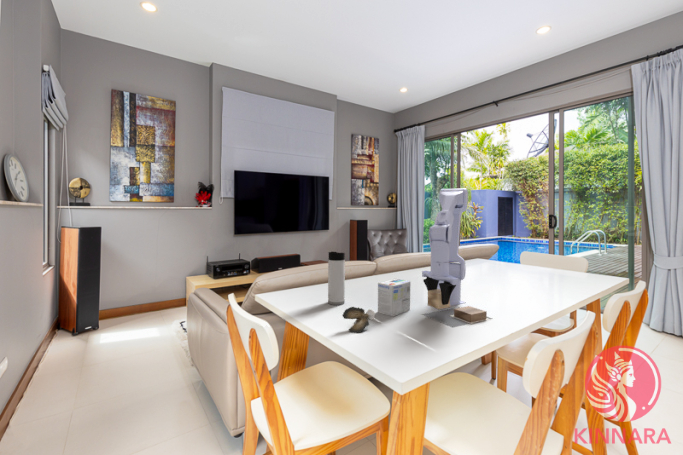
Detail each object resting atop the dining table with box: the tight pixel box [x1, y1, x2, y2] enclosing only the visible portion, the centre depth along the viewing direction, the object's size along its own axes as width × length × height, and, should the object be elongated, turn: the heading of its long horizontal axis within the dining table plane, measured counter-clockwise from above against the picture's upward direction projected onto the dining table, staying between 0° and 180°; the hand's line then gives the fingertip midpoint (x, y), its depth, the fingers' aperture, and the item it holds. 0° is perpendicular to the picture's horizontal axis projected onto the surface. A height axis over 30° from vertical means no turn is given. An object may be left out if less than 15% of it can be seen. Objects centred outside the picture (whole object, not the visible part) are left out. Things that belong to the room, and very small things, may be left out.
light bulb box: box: [377, 278, 411, 317], centre depth 113 cm, size 11×7×11 cm, turn 134°
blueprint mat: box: [420, 306, 493, 328], centre depth 107 cm, size 14×18×1 cm
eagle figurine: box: [342, 306, 376, 334], centre depth 97 cm, size 8×7×9 cm
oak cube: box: [427, 289, 451, 310], centre depth 107 cm, size 5×5×5 cm
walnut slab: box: [454, 305, 488, 323], centre depth 106 cm, size 7×7×2 cm
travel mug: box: [327, 251, 346, 306], centre depth 123 cm, size 6×7×20 cm
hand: (438, 302), depth 108 cm, fingers closed on oak cube, 5 cm apart
